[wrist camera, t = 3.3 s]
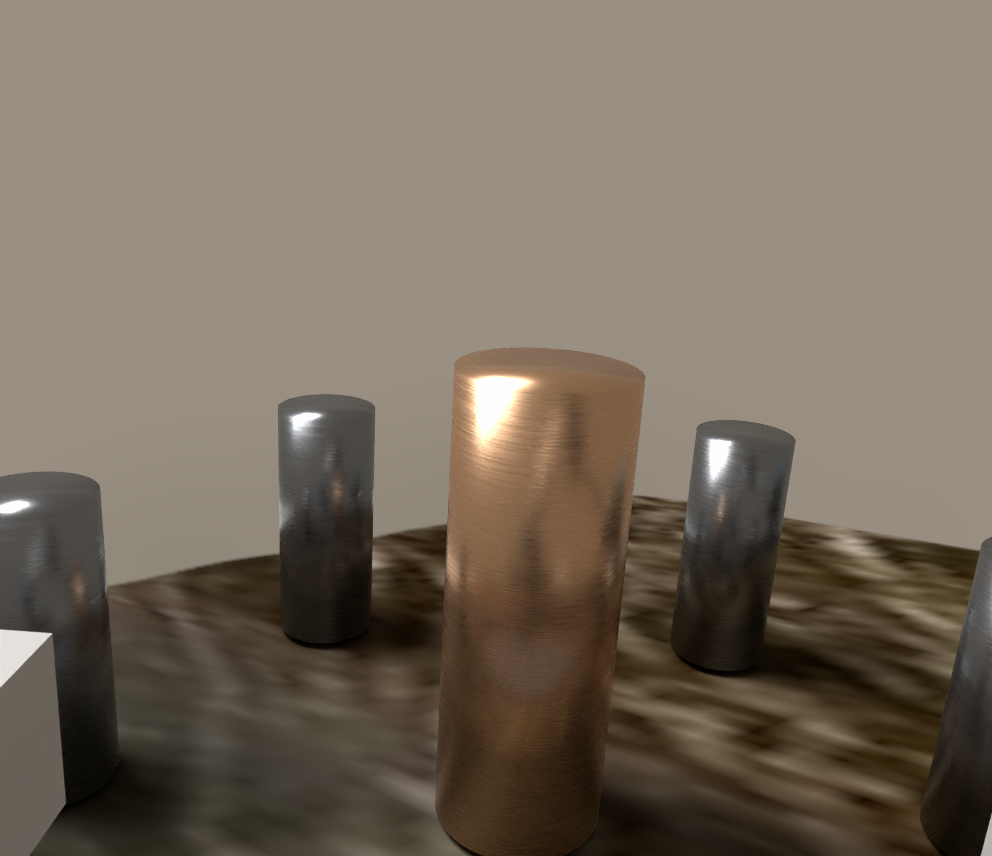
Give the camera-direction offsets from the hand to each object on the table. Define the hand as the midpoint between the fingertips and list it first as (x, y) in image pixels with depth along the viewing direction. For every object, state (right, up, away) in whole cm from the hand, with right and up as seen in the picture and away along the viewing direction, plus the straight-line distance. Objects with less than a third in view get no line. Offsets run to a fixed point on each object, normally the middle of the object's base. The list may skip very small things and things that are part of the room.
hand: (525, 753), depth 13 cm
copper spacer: (0, -6, +13) cm, 14 cm away
